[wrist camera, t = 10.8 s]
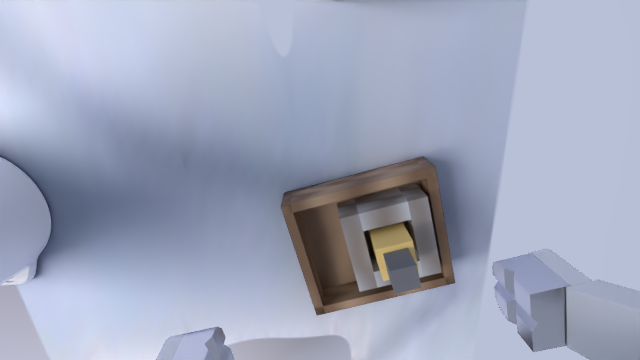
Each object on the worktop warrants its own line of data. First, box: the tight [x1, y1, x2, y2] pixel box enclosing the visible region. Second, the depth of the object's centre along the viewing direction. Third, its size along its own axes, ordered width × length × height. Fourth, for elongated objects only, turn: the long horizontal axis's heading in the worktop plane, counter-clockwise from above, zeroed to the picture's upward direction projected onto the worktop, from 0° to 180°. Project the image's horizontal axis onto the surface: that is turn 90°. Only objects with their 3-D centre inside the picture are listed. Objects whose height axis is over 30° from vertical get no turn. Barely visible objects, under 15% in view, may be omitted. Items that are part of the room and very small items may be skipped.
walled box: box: [281, 157, 455, 315], centre depth 38 cm, size 16×14×5 cm
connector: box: [368, 222, 421, 294], centre depth 35 cm, size 4×4×10 cm
